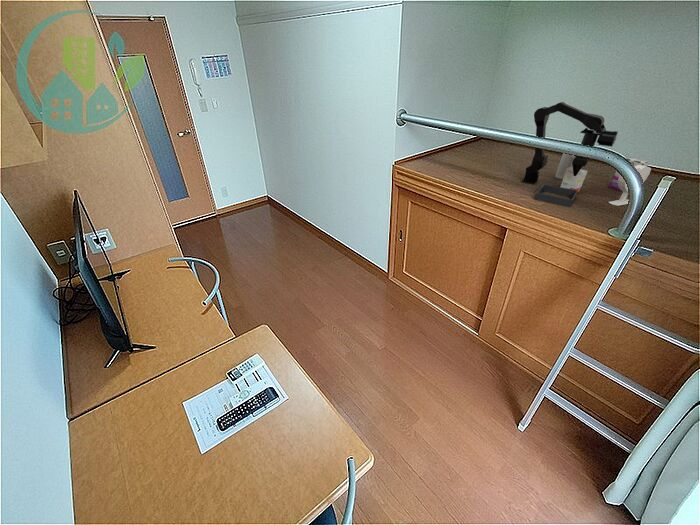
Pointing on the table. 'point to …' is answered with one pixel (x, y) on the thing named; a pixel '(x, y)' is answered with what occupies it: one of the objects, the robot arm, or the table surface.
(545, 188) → the dark grey tray frame
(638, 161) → the candy bar box
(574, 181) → the ink box
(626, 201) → the heart sculpture
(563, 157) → the travel mug
